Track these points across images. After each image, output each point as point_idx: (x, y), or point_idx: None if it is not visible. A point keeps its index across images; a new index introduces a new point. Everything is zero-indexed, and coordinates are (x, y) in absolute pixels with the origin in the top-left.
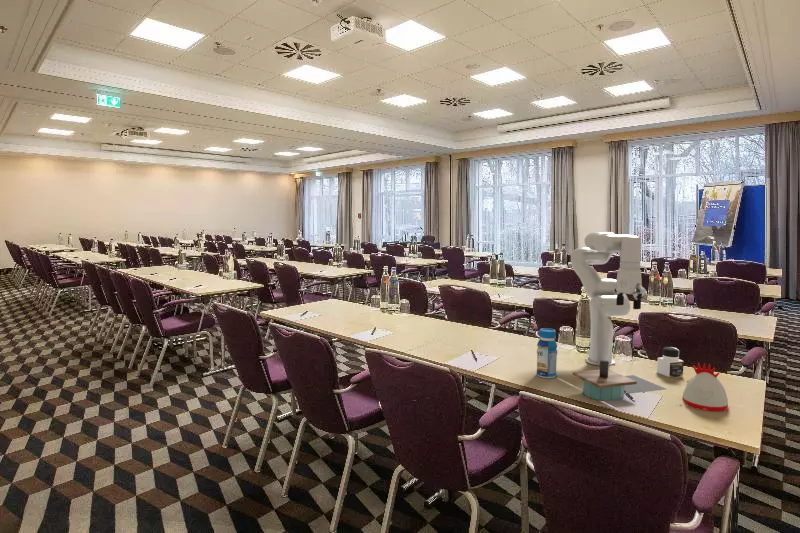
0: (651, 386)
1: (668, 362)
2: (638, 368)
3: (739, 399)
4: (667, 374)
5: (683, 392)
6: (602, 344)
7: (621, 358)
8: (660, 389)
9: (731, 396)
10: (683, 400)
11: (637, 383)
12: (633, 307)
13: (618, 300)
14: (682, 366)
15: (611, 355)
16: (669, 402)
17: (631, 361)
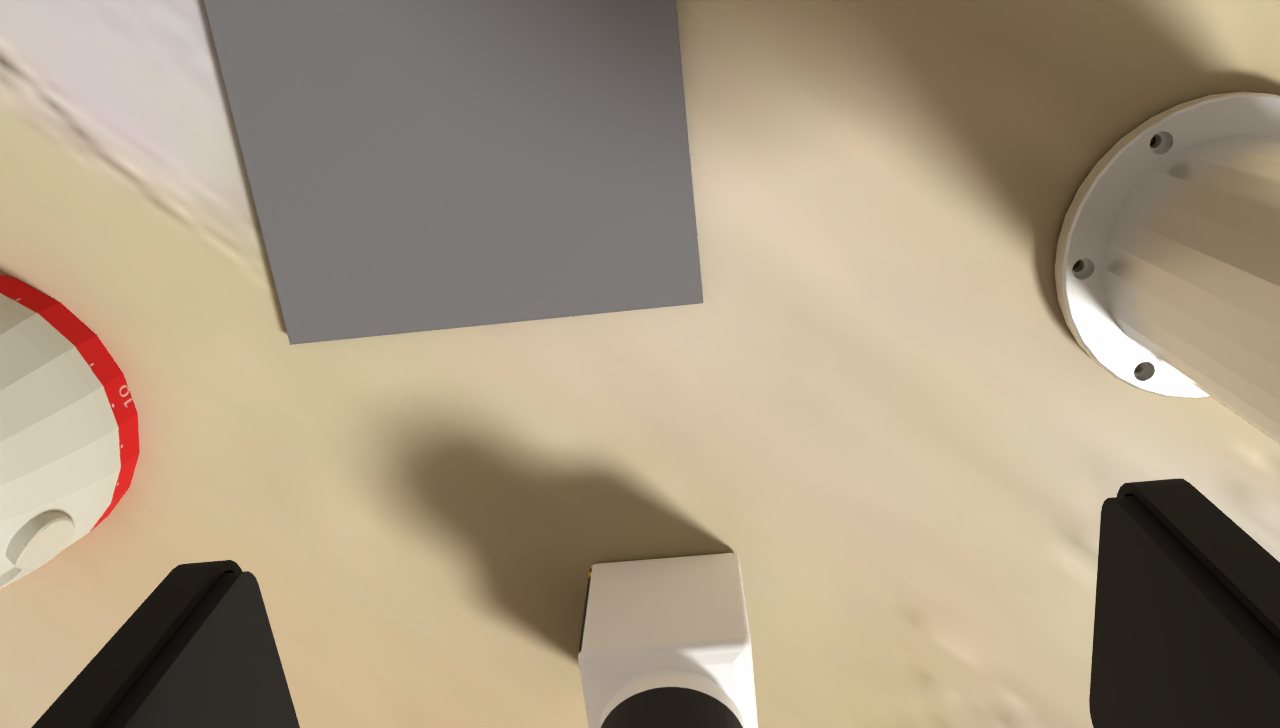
0: (364, 254)
1: (599, 647)
2: (913, 496)
3: None
4: (611, 576)
5: (8, 325)
6: (1252, 255)
7: None
8: (281, 280)
9: None
10: (2, 282)
11: (459, 178)
12: (186, 583)
13: (1209, 631)
14: None
15: (1156, 352)
16: (2, 159)
17: None
